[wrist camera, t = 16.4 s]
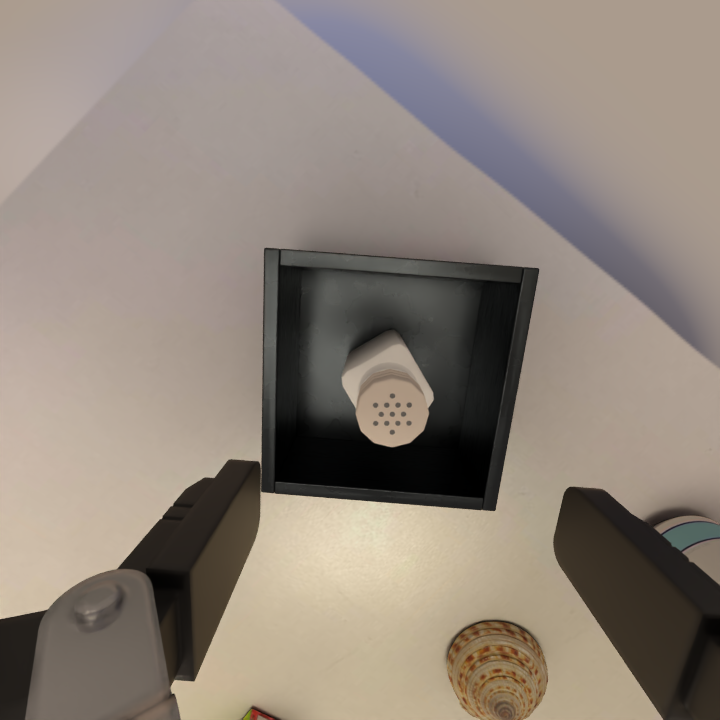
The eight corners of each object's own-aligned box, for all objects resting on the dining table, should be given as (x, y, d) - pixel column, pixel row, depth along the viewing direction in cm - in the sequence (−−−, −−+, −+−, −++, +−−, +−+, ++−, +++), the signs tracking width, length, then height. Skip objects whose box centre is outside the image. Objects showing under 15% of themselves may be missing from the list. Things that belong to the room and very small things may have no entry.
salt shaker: (393, 324, 24) (410, 352, 15) (422, 373, 25) (454, 429, 15) (344, 353, 24) (329, 398, 15) (373, 400, 25) (375, 471, 16)
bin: (286, 442, 27) (260, 492, 20) (291, 256, 24) (263, 247, 17) (465, 456, 26) (495, 511, 20) (494, 271, 23) (540, 268, 17)
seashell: (467, 741, 30) (456, 724, 25) (447, 657, 35) (435, 630, 30) (564, 724, 29) (571, 704, 25) (531, 641, 34) (532, 611, 29)
